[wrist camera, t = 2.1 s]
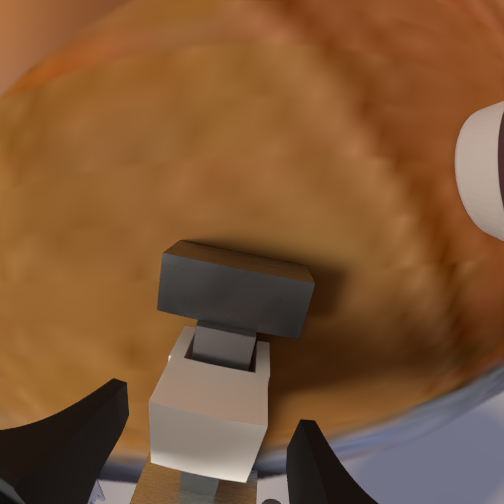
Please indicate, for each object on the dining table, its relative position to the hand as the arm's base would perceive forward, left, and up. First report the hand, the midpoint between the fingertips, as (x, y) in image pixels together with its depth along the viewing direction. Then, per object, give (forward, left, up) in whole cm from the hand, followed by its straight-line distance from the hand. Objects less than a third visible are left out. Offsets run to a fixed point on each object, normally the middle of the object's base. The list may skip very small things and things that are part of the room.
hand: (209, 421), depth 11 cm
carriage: (0, 0, -5) cm, 5 cm away
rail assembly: (-4, 0, -5) cm, 6 cm away
